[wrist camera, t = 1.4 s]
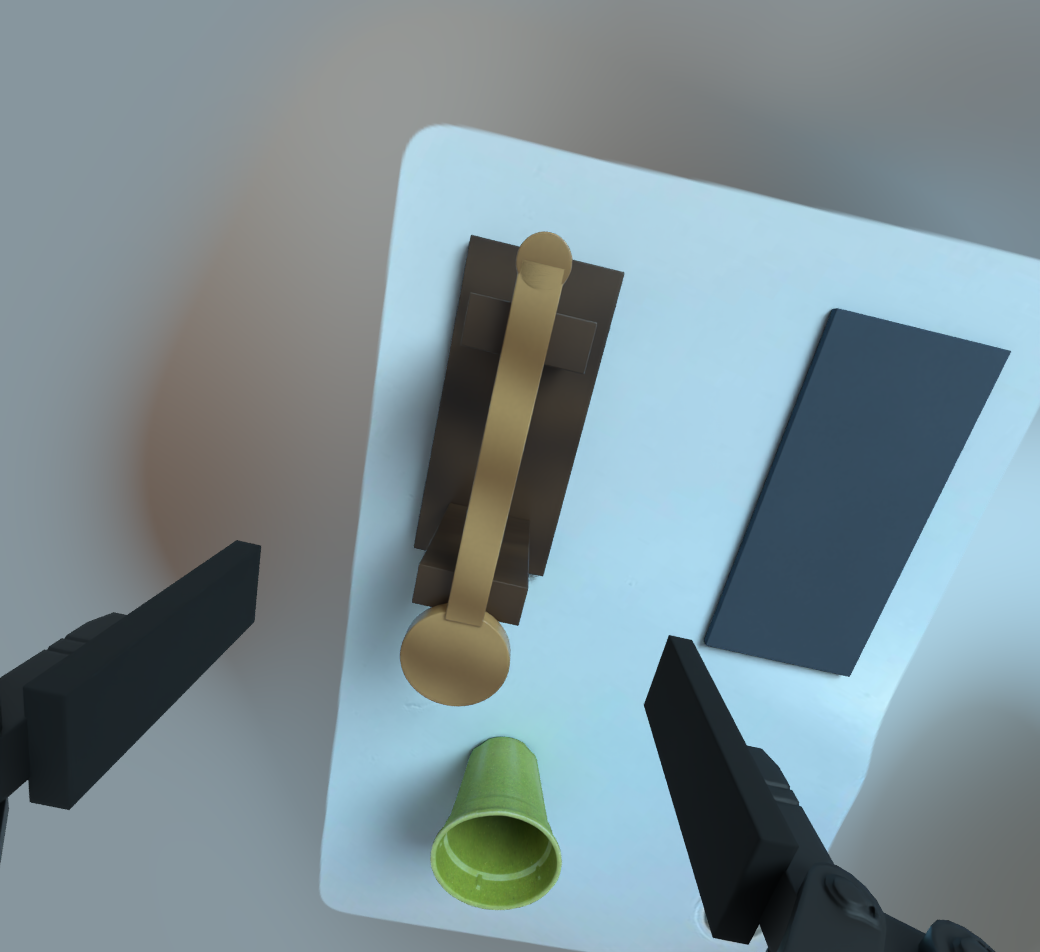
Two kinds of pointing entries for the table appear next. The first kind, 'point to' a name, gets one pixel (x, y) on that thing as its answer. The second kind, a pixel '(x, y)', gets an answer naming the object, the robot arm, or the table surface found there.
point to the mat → (851, 489)
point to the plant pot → (498, 832)
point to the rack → (550, 427)
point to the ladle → (491, 498)
